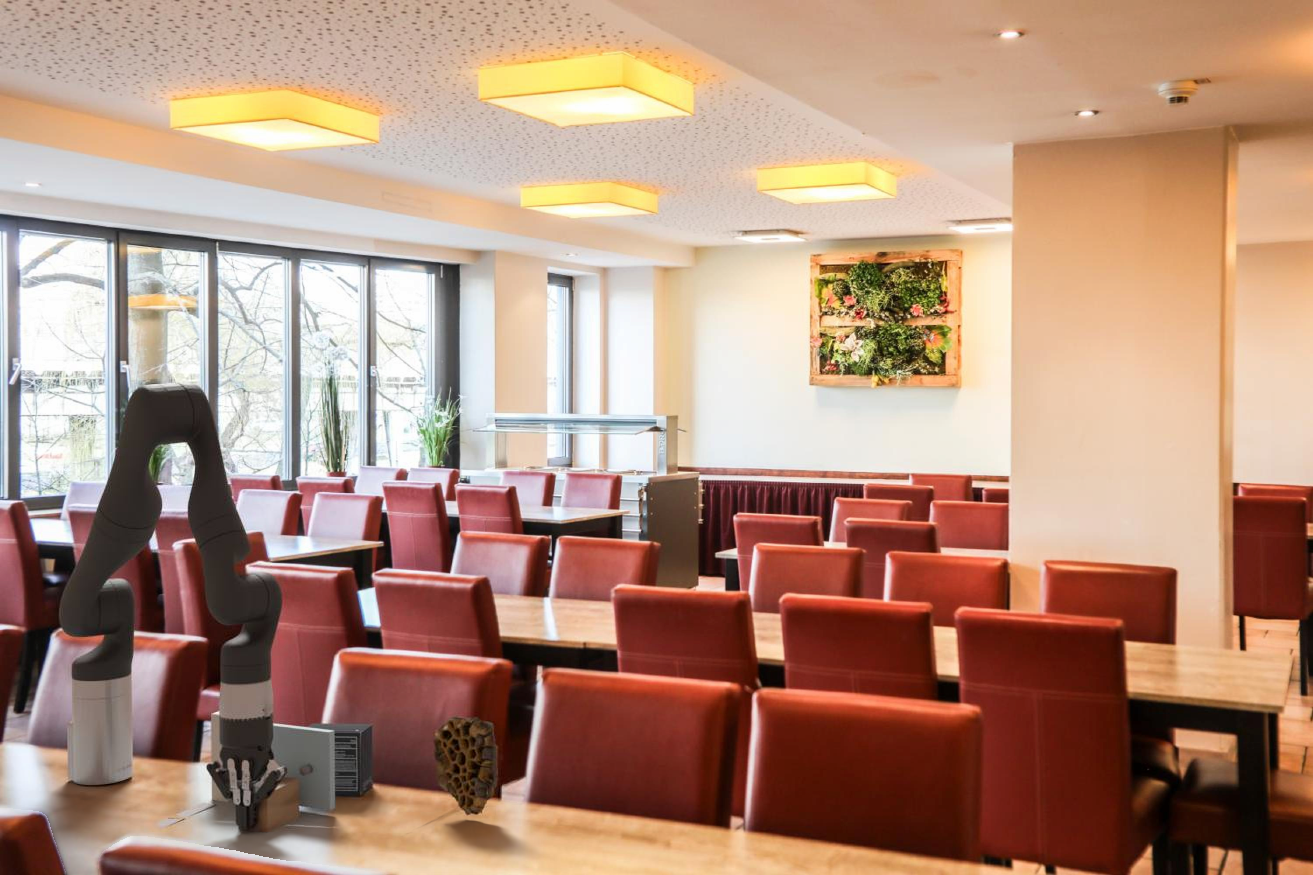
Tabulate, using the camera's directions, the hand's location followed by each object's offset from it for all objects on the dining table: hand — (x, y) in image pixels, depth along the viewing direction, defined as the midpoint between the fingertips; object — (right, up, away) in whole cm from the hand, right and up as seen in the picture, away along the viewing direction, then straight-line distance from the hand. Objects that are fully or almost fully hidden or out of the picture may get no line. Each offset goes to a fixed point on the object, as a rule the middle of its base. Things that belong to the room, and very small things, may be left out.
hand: (247, 828), depth 186 cm
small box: (+8, -1, +22) cm, 23 cm away
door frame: (-11, -1, +11) cm, 15 cm away
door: (+2, 0, +12) cm, 12 cm away
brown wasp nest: (+31, -1, +9) cm, 32 cm away
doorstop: (+2, -1, +5) cm, 5 cm away
